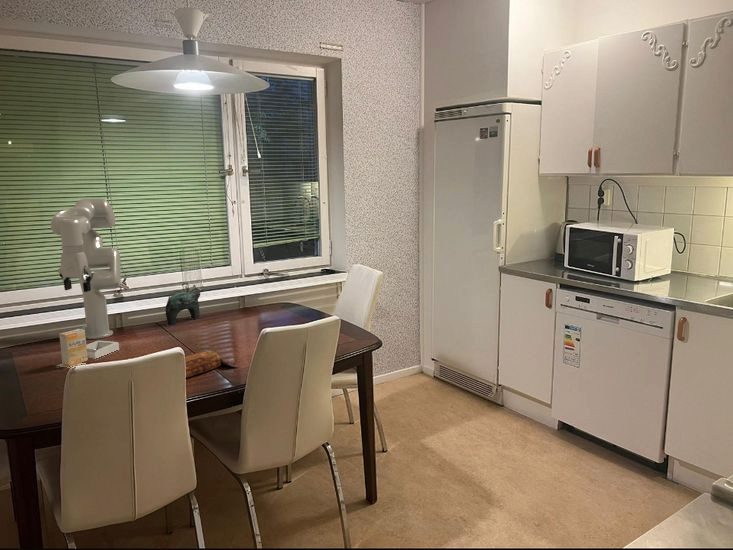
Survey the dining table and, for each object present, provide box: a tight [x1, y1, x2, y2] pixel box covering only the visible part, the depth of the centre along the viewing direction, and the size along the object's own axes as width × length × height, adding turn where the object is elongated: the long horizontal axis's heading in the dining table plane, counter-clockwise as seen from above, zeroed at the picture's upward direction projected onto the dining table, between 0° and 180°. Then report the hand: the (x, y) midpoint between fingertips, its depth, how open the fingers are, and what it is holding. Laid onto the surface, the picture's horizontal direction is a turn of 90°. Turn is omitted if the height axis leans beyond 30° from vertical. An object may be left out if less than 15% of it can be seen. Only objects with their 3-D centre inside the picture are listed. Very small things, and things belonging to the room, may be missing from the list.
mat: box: [55, 362, 86, 369], centre depth 225 cm, size 10×10×1 cm
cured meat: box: [185, 350, 239, 379], centre depth 217 cm, size 18×25×7 cm
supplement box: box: [59, 328, 88, 366], centre depth 224 cm, size 8×5×13 cm, turn 151°
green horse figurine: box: [165, 282, 201, 326], centre depth 287 cm, size 20×6×20 cm, turn 144°
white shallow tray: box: [86, 340, 120, 359], centre depth 237 cm, size 11×14×4 cm
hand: (77, 290), depth 229 cm, fingers open, 9 cm apart
